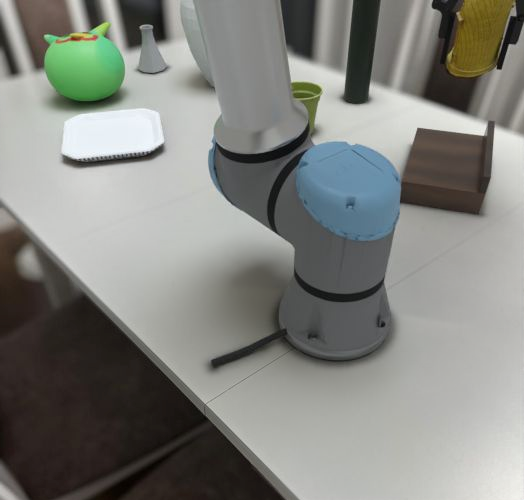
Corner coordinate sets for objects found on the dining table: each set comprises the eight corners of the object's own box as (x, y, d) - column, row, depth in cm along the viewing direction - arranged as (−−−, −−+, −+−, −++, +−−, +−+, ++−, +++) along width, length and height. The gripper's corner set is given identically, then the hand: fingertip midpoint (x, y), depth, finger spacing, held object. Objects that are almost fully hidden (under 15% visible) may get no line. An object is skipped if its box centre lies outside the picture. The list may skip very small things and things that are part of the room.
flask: (153, 75, 137) (147, 32, 130) (133, 70, 140) (125, 28, 133) (171, 67, 141) (166, 24, 134) (151, 62, 144) (144, 20, 137)
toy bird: (53, 115, 121) (32, 45, 111) (55, 88, 133) (36, 21, 122) (132, 107, 124) (119, 37, 113) (127, 80, 135) (115, 15, 125)
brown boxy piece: (478, 214, 92) (491, 177, 87) (397, 201, 95) (404, 165, 90) (484, 155, 106) (495, 121, 101) (413, 146, 109) (420, 112, 104)
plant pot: (272, 138, 112) (272, 96, 106) (282, 120, 118) (283, 79, 112) (315, 143, 110) (317, 101, 104) (324, 124, 117) (326, 83, 110)
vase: (246, 99, 126) (242, -27, 107) (177, 92, 129) (161, -32, 111) (266, 72, 137) (266, -46, 119) (202, 66, 141) (192, -50, 123)
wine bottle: (338, 98, 126) (352, -59, 104) (354, 91, 128) (371, -63, 107) (357, 105, 123) (375, -55, 101) (372, 98, 126) (394, -59, 104)
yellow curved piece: (495, 93, 80) (530, -27, 69) (440, 88, 81) (465, -30, 70) (494, 65, 87) (525, -47, 76) (443, 62, 89) (466, -49, 78)
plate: (62, 170, 104) (59, 159, 103) (67, 125, 118) (64, 115, 116) (167, 158, 107) (165, 147, 105) (159, 115, 121) (158, 106, 119)
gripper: (432, -131, 66) (400, 65, 83) (614, -128, 61) (541, 79, 78) (439, -138, 71) (407, 49, 87) (608, -136, 66) (540, 61, 83)
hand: (470, 63), depth 83 cm, fingers closed on yellow curved piece, 8 cm apart
